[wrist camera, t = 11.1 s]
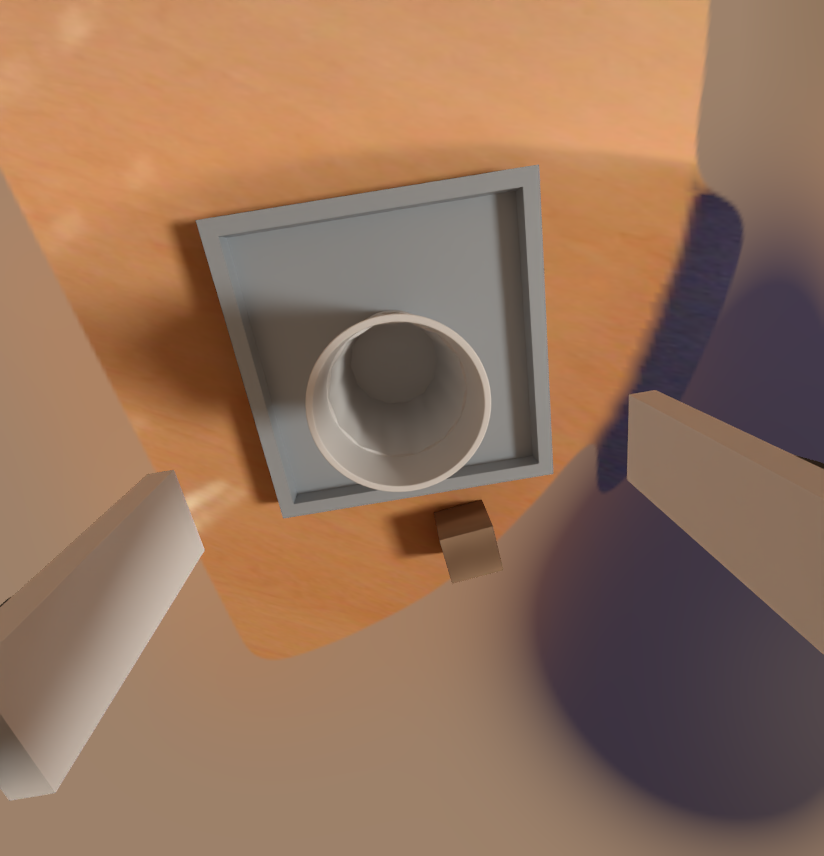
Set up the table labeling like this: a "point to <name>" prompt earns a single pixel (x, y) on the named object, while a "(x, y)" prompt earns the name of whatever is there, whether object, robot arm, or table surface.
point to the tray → (380, 291)
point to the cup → (398, 402)
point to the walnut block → (468, 541)
